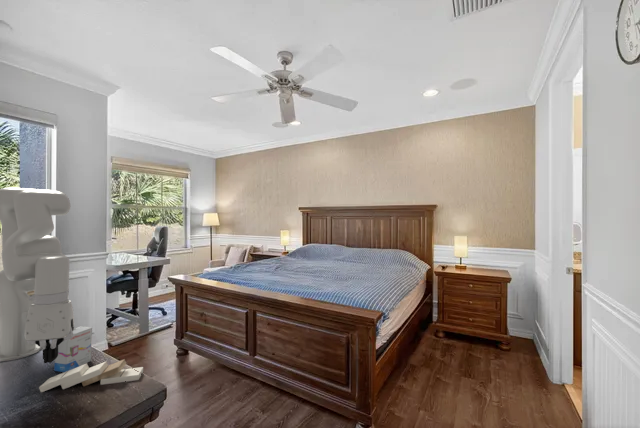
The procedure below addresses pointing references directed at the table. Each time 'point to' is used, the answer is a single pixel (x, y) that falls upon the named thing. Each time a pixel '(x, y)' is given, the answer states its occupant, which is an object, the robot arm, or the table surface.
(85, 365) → the domino
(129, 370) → the domino
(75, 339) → the ink box
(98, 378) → the domino
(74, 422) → the table surface
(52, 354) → the robot arm
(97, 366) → the domino
